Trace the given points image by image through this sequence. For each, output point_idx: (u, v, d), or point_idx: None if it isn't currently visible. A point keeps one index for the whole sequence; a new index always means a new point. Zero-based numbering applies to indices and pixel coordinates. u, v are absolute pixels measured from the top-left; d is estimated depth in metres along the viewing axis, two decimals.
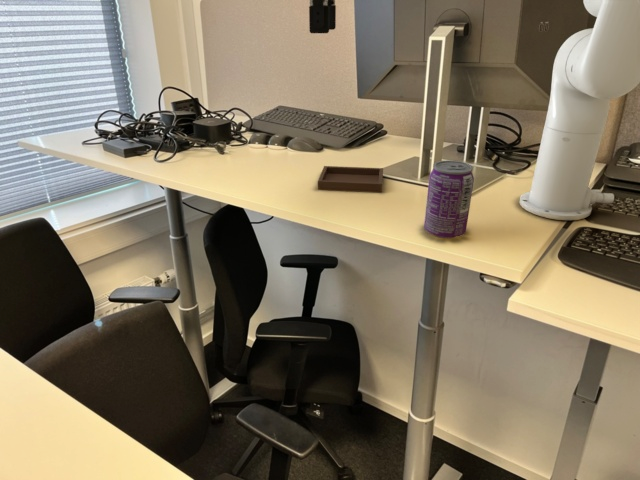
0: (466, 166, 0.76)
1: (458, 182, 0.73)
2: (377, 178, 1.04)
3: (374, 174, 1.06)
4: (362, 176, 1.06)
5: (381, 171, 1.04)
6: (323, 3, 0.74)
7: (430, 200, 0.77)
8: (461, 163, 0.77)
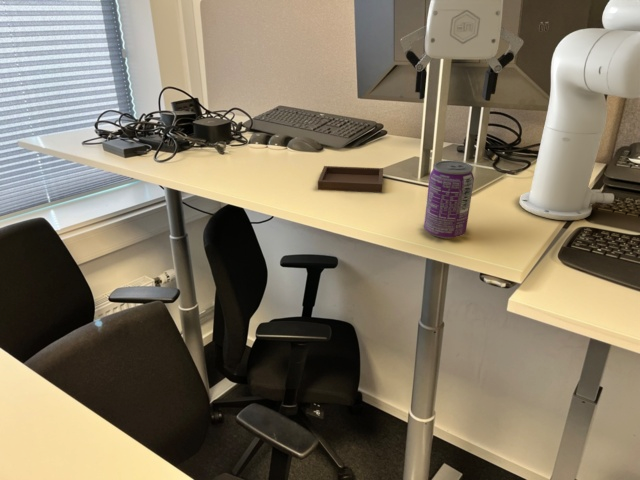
0: (466, 166, 0.76)
1: (458, 182, 0.73)
2: (377, 178, 1.04)
3: (374, 174, 1.06)
4: (362, 176, 1.06)
5: (381, 171, 1.04)
6: (415, 68, 0.69)
7: (430, 200, 0.77)
8: (461, 163, 0.77)
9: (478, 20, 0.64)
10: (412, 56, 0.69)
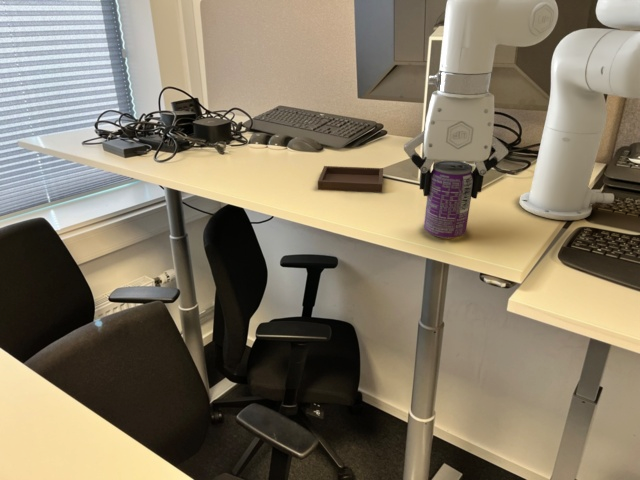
0: (466, 166, 0.76)
1: (457, 182, 0.73)
2: (377, 178, 1.04)
3: (374, 174, 1.06)
4: (362, 176, 1.06)
5: (381, 171, 1.04)
6: None
7: (429, 201, 0.77)
8: (461, 163, 0.77)
9: (472, 130, 0.70)
10: (417, 159, 0.75)
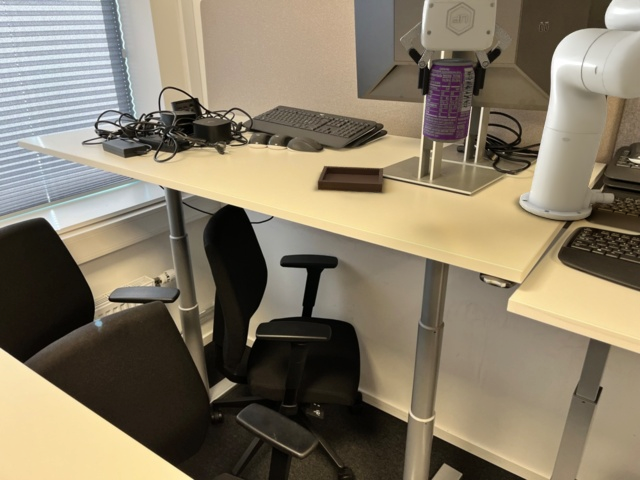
0: (467, 61, 0.71)
1: (458, 74, 0.68)
2: (377, 178, 1.04)
3: (374, 174, 1.06)
4: (362, 176, 1.06)
5: (381, 171, 1.04)
6: (418, 65, 0.71)
7: (428, 100, 0.72)
8: (461, 60, 0.72)
9: (473, 12, 0.65)
10: (415, 53, 0.70)
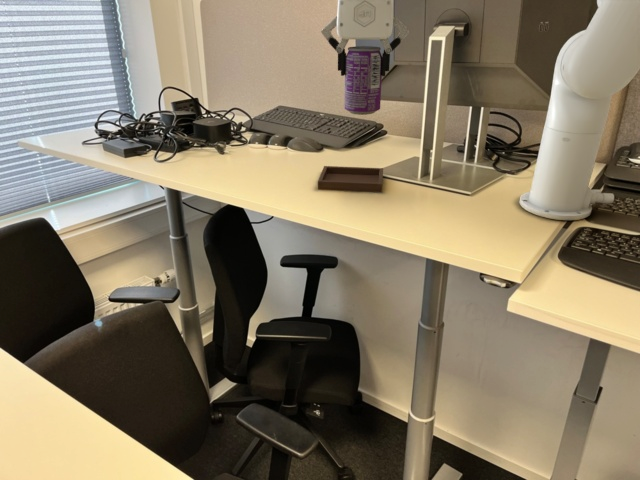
0: (376, 48, 0.89)
1: (366, 58, 0.86)
2: (377, 178, 1.04)
3: (374, 174, 1.06)
4: (362, 176, 1.06)
5: (381, 171, 1.04)
6: (336, 51, 0.88)
7: (346, 79, 0.90)
8: (373, 47, 0.90)
9: (374, 8, 0.82)
10: (333, 41, 0.87)
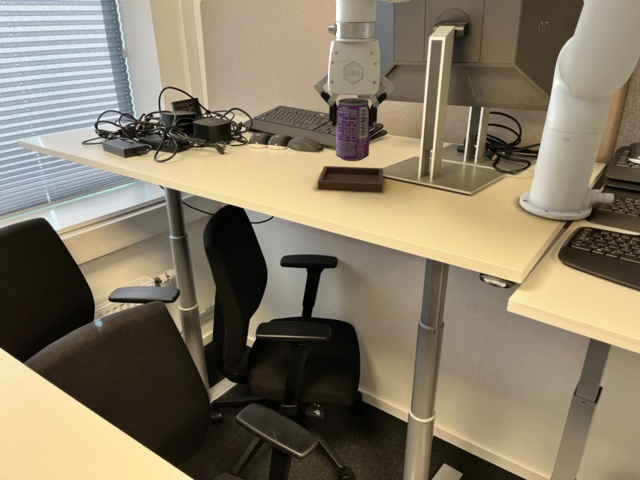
0: (364, 101, 0.96)
1: (355, 112, 0.93)
2: (377, 178, 1.04)
3: (374, 174, 1.06)
4: (362, 176, 1.06)
5: (381, 171, 1.04)
6: (328, 104, 0.95)
7: (337, 129, 0.97)
8: (362, 99, 0.97)
9: (362, 68, 0.89)
10: (325, 95, 0.95)
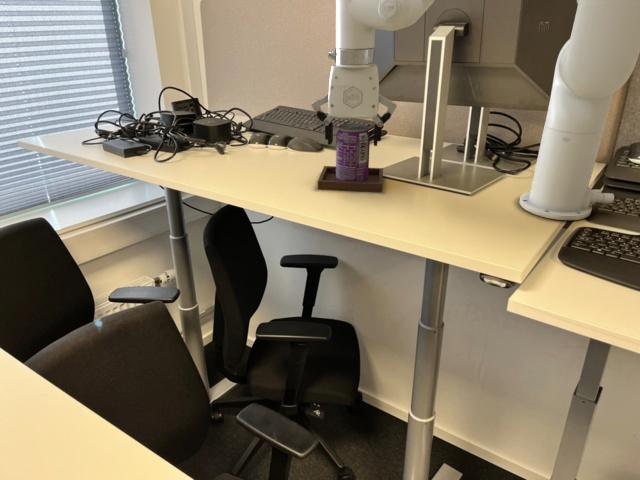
0: (364, 127, 0.98)
1: (354, 138, 0.95)
2: (377, 178, 1.04)
3: (374, 174, 1.06)
4: None
5: (381, 171, 1.04)
6: None
7: (337, 154, 0.99)
8: (361, 125, 0.99)
9: (361, 93, 0.92)
10: (320, 115, 0.97)
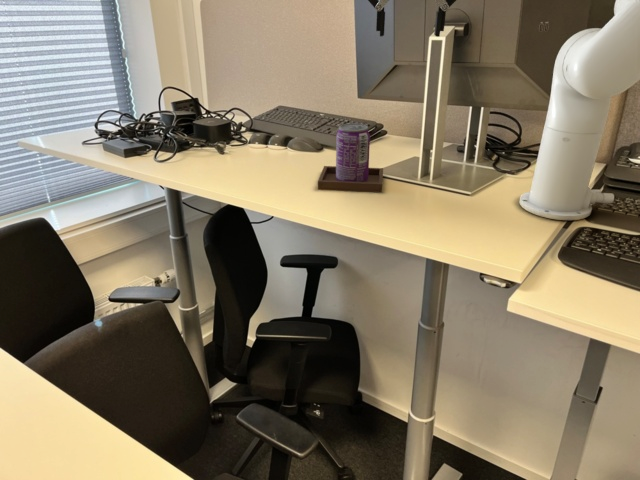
0: (364, 127, 0.98)
1: (354, 138, 0.95)
2: (377, 178, 1.04)
3: (374, 174, 1.06)
4: None
5: (381, 171, 1.04)
6: (375, 8, 0.81)
7: (337, 154, 0.99)
8: (361, 125, 0.99)
9: None
10: None
